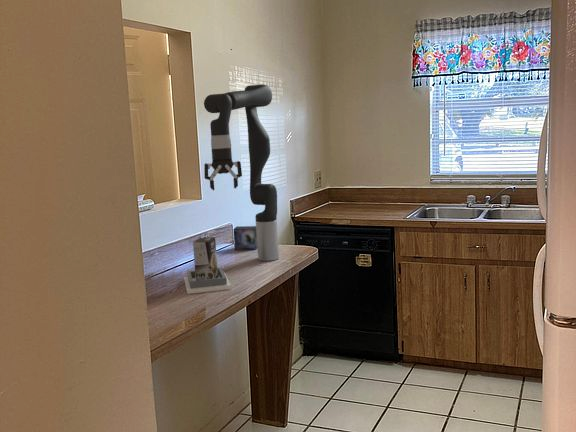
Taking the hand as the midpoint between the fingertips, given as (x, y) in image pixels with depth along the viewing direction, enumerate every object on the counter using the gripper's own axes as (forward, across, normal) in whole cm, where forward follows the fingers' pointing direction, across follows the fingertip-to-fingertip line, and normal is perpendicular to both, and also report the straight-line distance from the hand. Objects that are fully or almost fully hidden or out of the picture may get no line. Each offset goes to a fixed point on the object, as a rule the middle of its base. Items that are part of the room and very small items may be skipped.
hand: (224, 189), depth 232 cm
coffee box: (+34, +10, +7) cm, 36 cm away
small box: (+35, -14, -49) cm, 62 cm away
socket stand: (+35, +10, +8) cm, 37 cm away
